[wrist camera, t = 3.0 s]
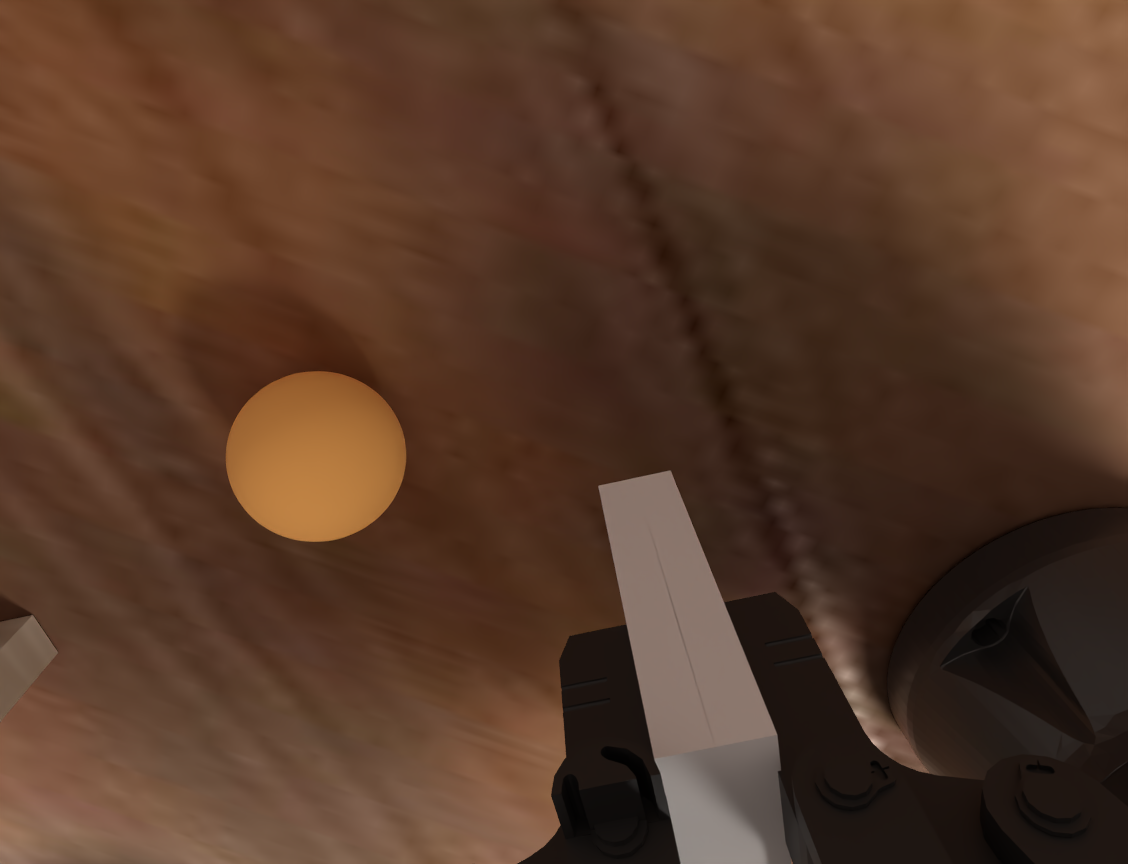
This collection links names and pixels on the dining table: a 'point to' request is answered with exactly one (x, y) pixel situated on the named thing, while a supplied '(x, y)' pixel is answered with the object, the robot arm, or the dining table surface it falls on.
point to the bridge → (21, 658)
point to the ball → (316, 456)
